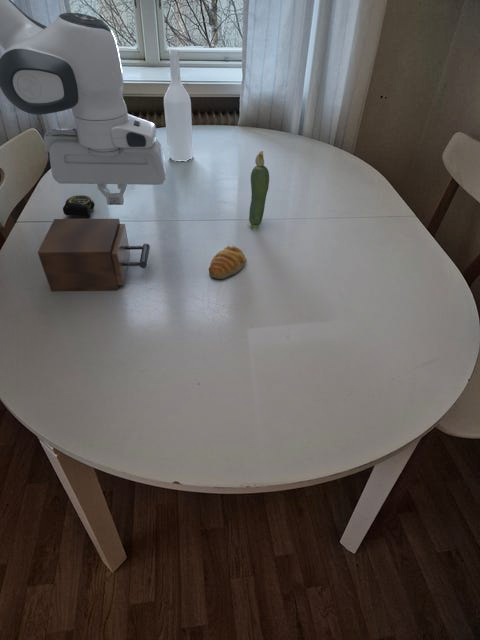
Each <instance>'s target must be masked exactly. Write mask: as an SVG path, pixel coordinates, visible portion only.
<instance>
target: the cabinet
mask: <svg viewBox="0 0 480 640" xmlns="http://www.w3.org/2000/svg"><path fill="white" fill-rule="evenodd" d="M119 224H121V220H120V218H54V219H53V221H52V223H51V225H50V227H49V229H48V231H47V233H46V234H45V237H44V238H43V241H42V243H41V245H40V247H39V248H38V250H37V255H38V258H39V261H40V264H41V266H42V270H43V272H44V274H45V278H46V280H47V284H48V286H49V289H50V291H51V292H92V291H93V292H94V291H95V292H96V291H119V287H120V285H118V284H117V279H116V274H115V270H114V265H113V260H112V256H111V251H112V247H113V244H114V240H115V239H116V235H117V232H118V228H119Z"/></svg>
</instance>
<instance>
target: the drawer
mask: <svg viewBox="0 0 480 640" xmlns="http://www.w3.org/2000/svg"><path fill="white" fill-rule="evenodd" d="M126 226H127V225H126V223H120V224H119V228H118V232H117V235H116V239H115V240H114V246H113V249H112V253H111V256H112V260H113V265H114V270H115V274H116V279H117V284H118V285H119V286H124V285H125V280H126V275H127V272H128V271H127V270H128V267H139V268H142V269H146V268H147V267H148V262H149V256H150V249H151V245H150V243H143V244H142V245H130V244H129V238H128V232H127V227H126ZM131 250H132V251H133V250H140V251H141V252H140V258H139V261H130V257H131Z"/></svg>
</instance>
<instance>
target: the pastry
mask: <svg viewBox="0 0 480 640" xmlns="http://www.w3.org/2000/svg"><path fill="white" fill-rule="evenodd" d="M247 262H248V259H247V258H246V255H245V254H244V253H243V251H242V249H240V248H239V247H237V246H236V245H235V246H233V245H232V246H230V245H228V246H227V247H224V248H223V249H222V250H220V251H219V252H218V253H216V254H215V255H214V256H213V258H212V259H211V261H210V265H209V268H208V273H209V276H210V277H212V278H214V279H219V280H223V279H227V278H228V277H230V276H234V275H236V273H238V272H239V271H240V270H242V269H243V268H244V266H245V265H247Z"/></svg>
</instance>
